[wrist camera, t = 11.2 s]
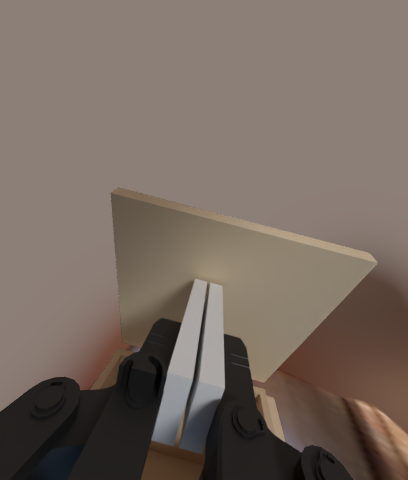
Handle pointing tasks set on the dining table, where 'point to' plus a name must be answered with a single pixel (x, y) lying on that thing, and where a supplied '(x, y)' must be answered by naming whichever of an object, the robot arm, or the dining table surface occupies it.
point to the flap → (227, 275)
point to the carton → (172, 457)
